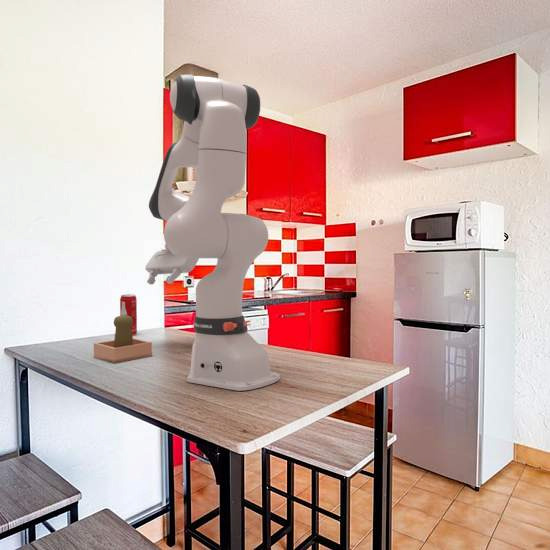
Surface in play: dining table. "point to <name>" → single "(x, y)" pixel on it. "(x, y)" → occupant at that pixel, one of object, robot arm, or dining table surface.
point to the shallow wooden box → (122, 351)
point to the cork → (123, 331)
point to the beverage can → (129, 309)
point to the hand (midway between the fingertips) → (159, 283)
